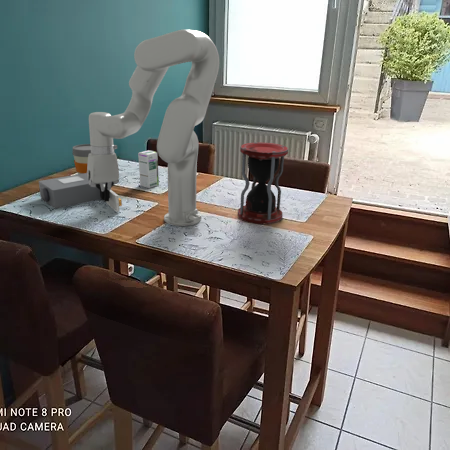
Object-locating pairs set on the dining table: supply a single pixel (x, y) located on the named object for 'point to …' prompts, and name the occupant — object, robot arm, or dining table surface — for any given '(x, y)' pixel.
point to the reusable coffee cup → (81, 157)
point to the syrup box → (148, 168)
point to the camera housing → (68, 191)
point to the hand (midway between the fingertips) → (105, 200)
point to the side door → (114, 201)
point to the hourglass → (262, 182)
